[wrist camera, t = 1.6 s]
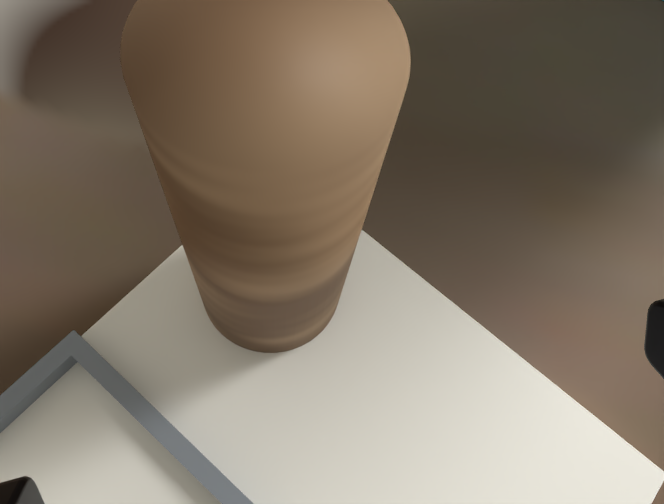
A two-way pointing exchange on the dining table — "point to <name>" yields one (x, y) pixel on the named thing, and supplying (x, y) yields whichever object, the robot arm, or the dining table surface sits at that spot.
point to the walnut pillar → (267, 146)
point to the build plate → (307, 409)
